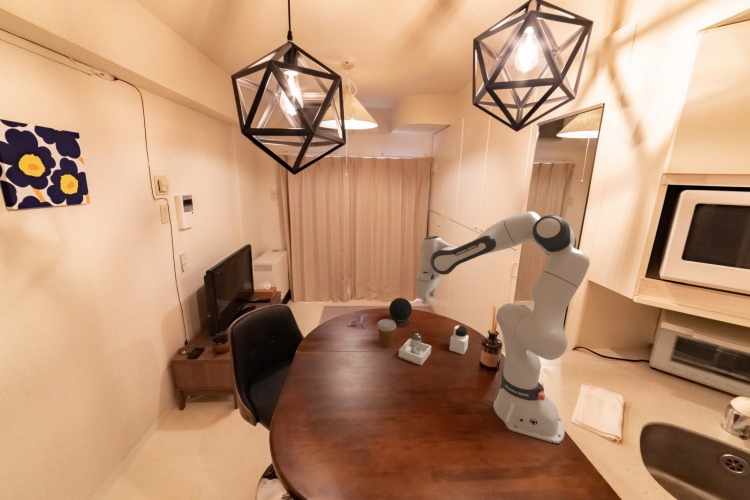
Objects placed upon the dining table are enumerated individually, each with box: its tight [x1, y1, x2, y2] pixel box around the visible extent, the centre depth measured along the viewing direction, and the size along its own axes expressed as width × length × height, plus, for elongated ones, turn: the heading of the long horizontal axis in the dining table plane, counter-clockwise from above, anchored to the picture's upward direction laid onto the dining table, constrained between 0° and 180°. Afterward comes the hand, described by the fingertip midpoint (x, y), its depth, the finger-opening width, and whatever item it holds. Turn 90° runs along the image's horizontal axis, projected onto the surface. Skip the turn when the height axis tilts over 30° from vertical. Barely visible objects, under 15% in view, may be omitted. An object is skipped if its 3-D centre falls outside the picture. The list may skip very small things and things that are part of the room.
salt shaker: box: [411, 332, 422, 355], centre depth 136 cm, size 4×4×11 cm
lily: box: [350, 312, 370, 330], centre depth 162 cm, size 12×12×10 cm
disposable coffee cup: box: [376, 318, 397, 349], centre depth 145 cm, size 10×10×12 cm
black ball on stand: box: [388, 297, 413, 328], centre depth 167 cm, size 13×13×15 cm
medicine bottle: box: [448, 325, 470, 355], centre depth 142 cm, size 7×7×12 cm
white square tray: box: [398, 338, 432, 366], centre depth 137 cm, size 12×12×4 cm
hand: (428, 299), depth 134 cm, fingers open, 8 cm apart
